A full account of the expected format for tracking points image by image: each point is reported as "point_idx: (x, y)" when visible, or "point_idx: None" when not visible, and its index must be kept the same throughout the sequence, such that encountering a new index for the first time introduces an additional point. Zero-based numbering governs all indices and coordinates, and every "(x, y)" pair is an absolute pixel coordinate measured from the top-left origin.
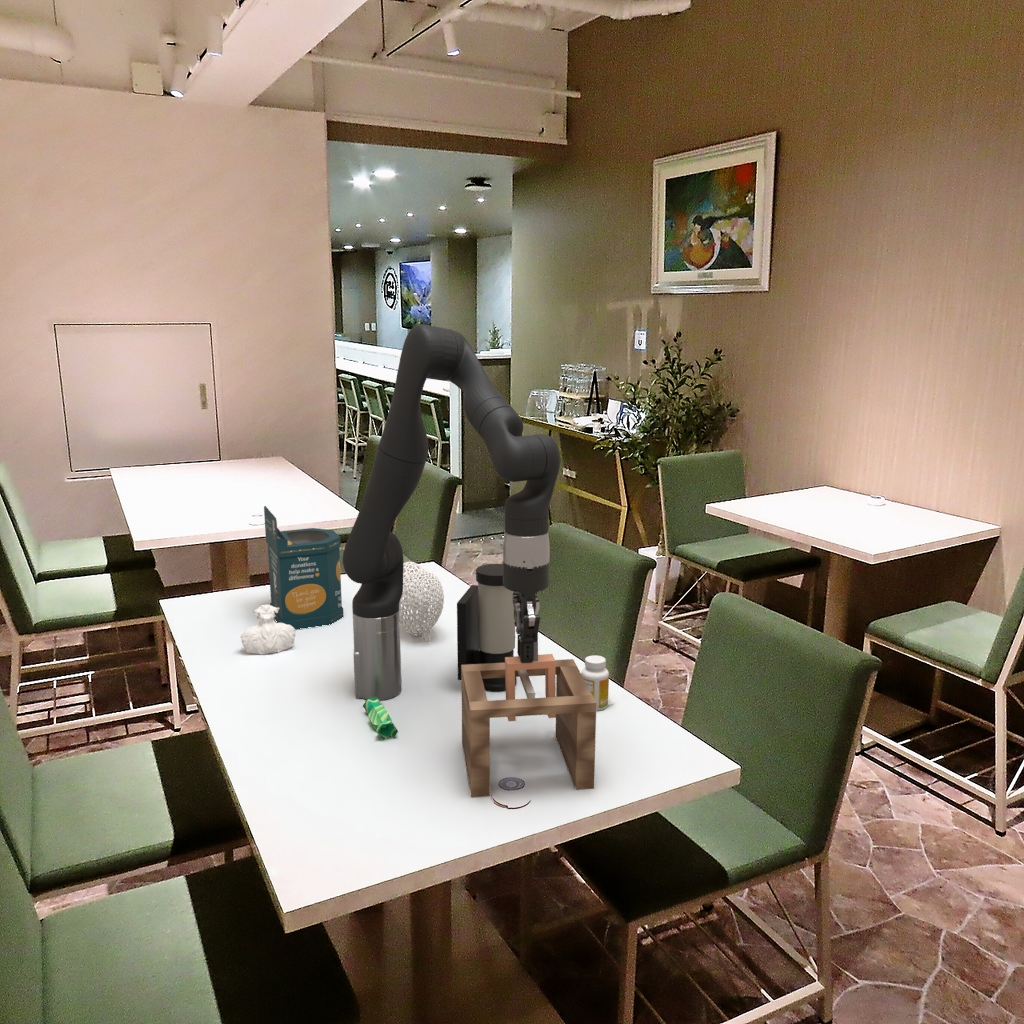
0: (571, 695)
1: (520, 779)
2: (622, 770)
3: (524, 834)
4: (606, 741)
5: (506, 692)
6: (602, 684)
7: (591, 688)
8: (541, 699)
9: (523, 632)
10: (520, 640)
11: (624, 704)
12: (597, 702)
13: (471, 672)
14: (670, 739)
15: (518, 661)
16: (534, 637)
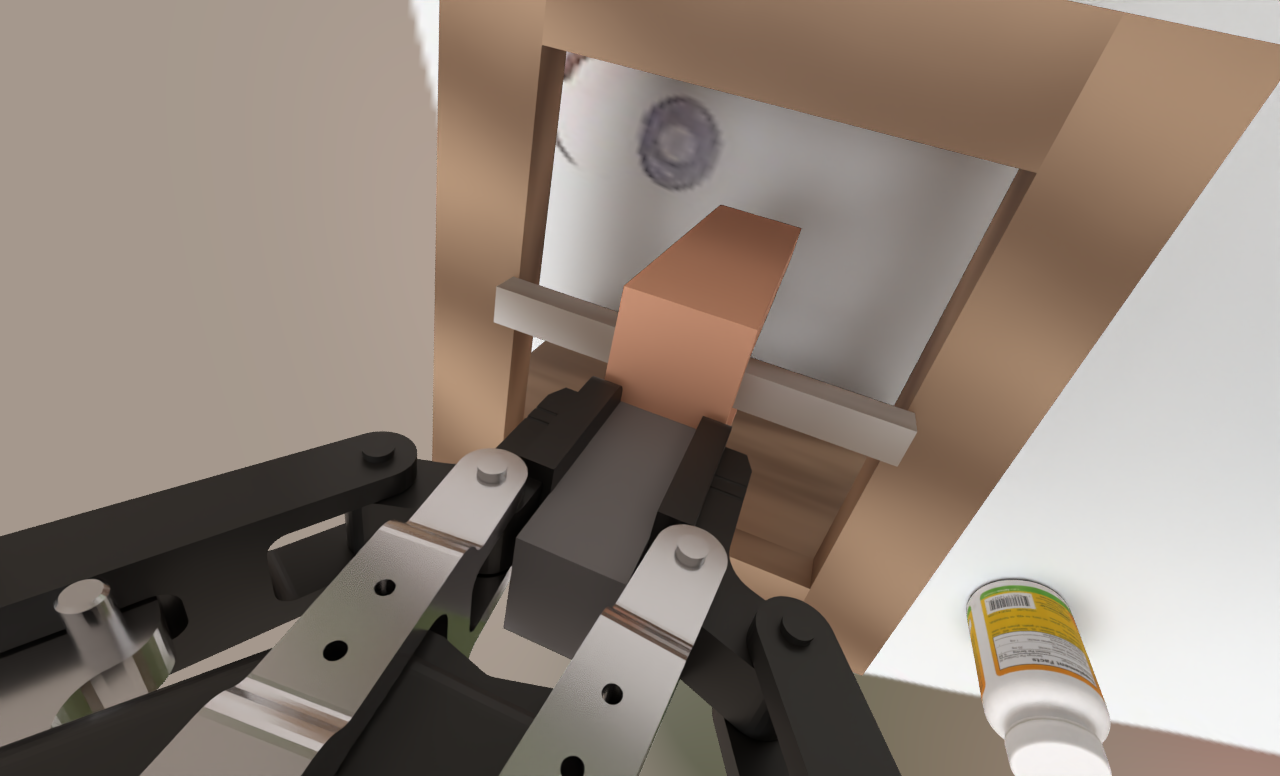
0: None
1: (689, 184)
2: None
3: (429, 74)
4: None
5: (752, 247)
6: (979, 680)
7: (1000, 646)
8: (497, 333)
9: (211, 480)
10: (472, 455)
11: (961, 665)
12: (975, 616)
13: (1051, 90)
14: None
15: (638, 375)
16: (329, 534)
